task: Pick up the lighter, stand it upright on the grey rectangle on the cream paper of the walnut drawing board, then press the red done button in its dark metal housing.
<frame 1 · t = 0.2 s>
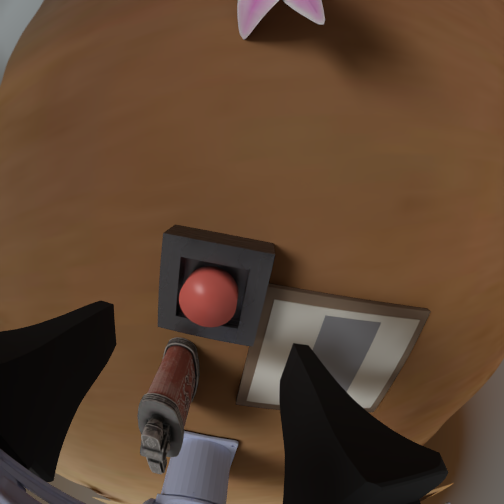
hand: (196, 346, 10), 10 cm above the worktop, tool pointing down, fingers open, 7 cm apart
drawing board: (332, 362, 22), on the worktop
button housing: (215, 279, 20), on the worktop
lighter: (182, 370, 23), on the worktop
done button: (209, 296, 17), point 3 cm above the worktop, slide at 0.0 cm
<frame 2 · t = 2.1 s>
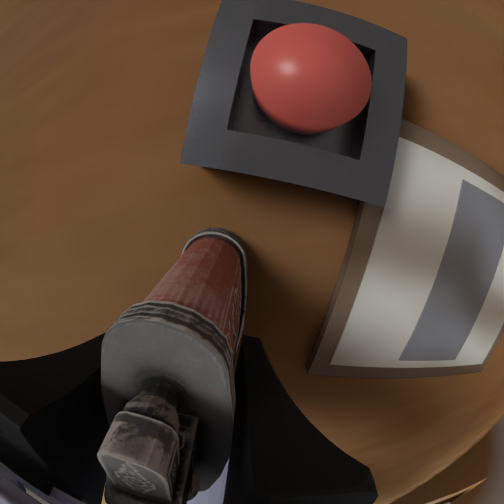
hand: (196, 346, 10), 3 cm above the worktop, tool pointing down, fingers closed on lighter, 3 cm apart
drawing board: (458, 279, 12), on the worktop
button housing: (297, 99, 10), on the worktop
lighter: (210, 308, 13), on the worktop, touching gripper
done button: (309, 78, 7), point 3 cm above the worktop, slide at 0.0 cm
when the fingers open (10 cm above the worktop, at t = 3.8 s): lighter drops 2 cm, resting on drawing board.
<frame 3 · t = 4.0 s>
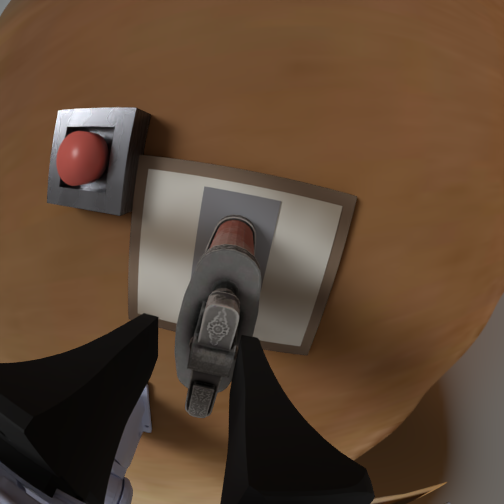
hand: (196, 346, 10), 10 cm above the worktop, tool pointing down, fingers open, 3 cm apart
drawing board: (230, 262, 19), on the worktop
button housing: (102, 158, 17), on the worktop
lighter: (225, 270, 19), point 1 cm above the worktop, touching drawing board, gripper
done button: (81, 158, 15), point 3 cm above the worktop, slide at 0.0 cm
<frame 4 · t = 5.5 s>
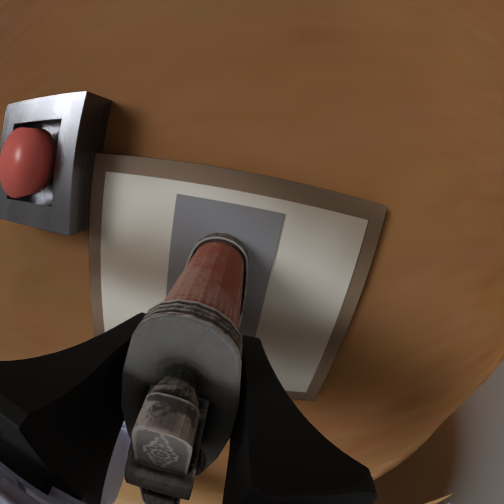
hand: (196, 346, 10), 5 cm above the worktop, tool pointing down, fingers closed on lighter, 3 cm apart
drawing board: (215, 294, 14), on the worktop
button housing: (56, 159, 12), on the worktop
lighter: (209, 306, 14), point 1 cm above the worktop, touching drawing board, gripper
done button: (25, 161, 10), point 3 cm above the worktop, slide at 0.0 cm
when the fingers open (5 cm above the worktop, at t = 5.7 s): lighter stays where it is, resting on drawing board.
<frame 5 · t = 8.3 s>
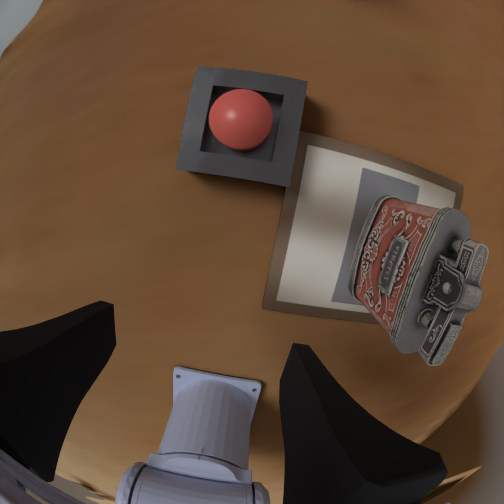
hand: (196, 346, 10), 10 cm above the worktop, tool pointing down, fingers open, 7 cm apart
drawing board: (374, 240, 19), on the worktop
button housing: (243, 128, 17), on the worktop
lighter: (375, 248, 19), point 1 cm above the worktop, touching drawing board
done button: (241, 120, 15), point 3 cm above the worktop, slide at 0.0 cm
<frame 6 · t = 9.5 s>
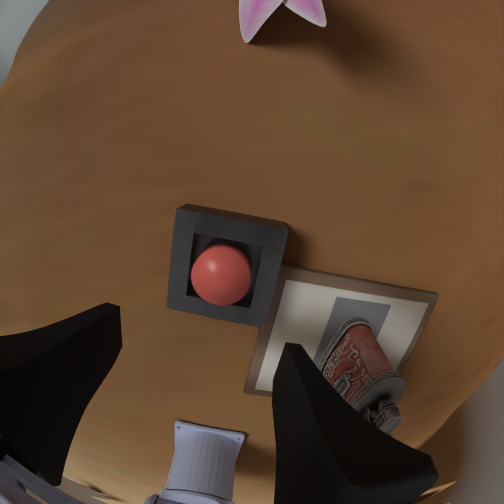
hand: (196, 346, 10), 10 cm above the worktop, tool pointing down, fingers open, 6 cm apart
drawing board: (342, 347, 22), on the worktop
button housing: (227, 259, 20), on the worktop
lighter: (340, 354, 21), point 1 cm above the worktop, touching drawing board
done button: (221, 274, 17), point 3 cm above the worktop, slide at 0.0 cm
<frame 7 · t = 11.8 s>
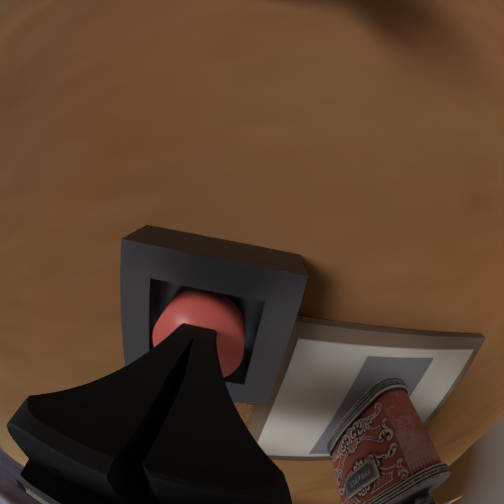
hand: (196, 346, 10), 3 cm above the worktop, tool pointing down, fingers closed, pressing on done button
drawing board: (365, 407, 15), on the worktop
button housing: (209, 308, 13), on the worktop
lighter: (363, 417, 15), point 1 cm above the worktop, touching drawing board
done button: (200, 336, 11), point 2 cm above the worktop, slide at 0.4 cm, touching gripper
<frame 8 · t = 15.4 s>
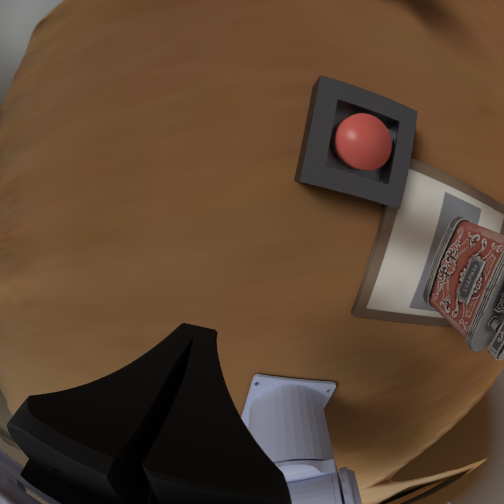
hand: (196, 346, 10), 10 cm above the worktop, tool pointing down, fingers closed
drawing board: (444, 254, 19), on the worktop
button housing: (352, 144, 17), on the worktop
lighter: (445, 261, 19), point 1 cm above the worktop, touching drawing board
done button: (361, 142, 15), point 2 cm above the worktop, slide at 0.8 cm
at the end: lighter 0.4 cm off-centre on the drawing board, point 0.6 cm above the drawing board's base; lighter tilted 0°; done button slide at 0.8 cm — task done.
